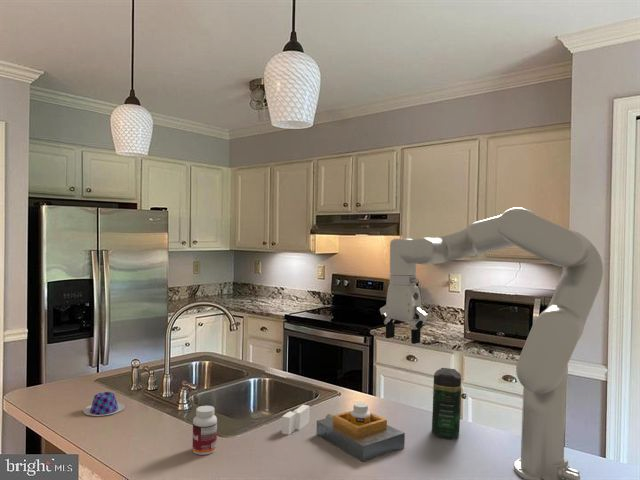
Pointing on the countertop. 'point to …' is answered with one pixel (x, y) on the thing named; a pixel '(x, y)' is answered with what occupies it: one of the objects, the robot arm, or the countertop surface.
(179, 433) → the countertop surface
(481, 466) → the countertop surface
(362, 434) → the grey bottle holder
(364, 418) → the supplement bottle
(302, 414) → the white angular block
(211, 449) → the pill bottle
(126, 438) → the countertop surface
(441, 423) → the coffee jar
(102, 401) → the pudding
